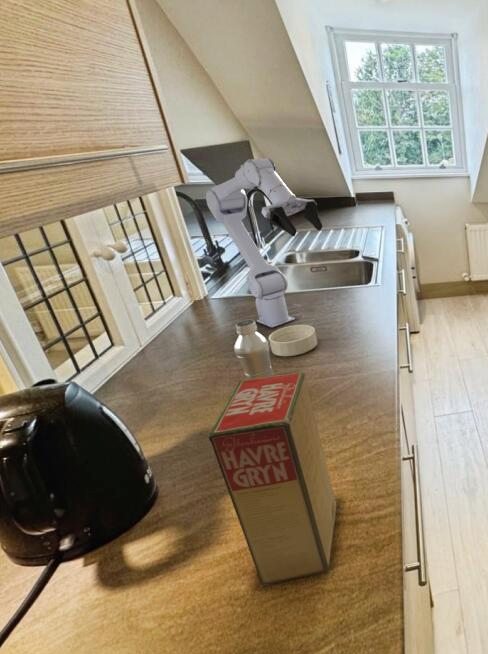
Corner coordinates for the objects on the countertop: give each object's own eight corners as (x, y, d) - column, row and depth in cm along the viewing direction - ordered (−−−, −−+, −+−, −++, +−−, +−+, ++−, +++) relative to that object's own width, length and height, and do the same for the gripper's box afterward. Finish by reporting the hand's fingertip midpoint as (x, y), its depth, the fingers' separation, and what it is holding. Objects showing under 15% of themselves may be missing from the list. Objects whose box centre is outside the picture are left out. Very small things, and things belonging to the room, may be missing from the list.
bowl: (263, 350, 127) (260, 336, 125) (302, 335, 136) (299, 321, 134) (287, 361, 121) (284, 346, 119) (326, 344, 129) (323, 330, 128)
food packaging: (277, 512, 73) (237, 377, 63) (338, 501, 75) (308, 368, 65) (257, 588, 61) (203, 435, 51) (330, 571, 63) (292, 422, 53)
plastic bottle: (289, 399, 104) (269, 319, 96) (265, 415, 98) (241, 331, 90) (270, 393, 106) (248, 314, 98) (244, 408, 100) (220, 326, 93)
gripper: (254, 185, 113) (285, 225, 111) (306, 179, 124) (335, 215, 122) (250, 206, 118) (279, 244, 116) (300, 198, 128) (328, 233, 126)
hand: (307, 230), depth 119 cm, fingers open, 7 cm apart
